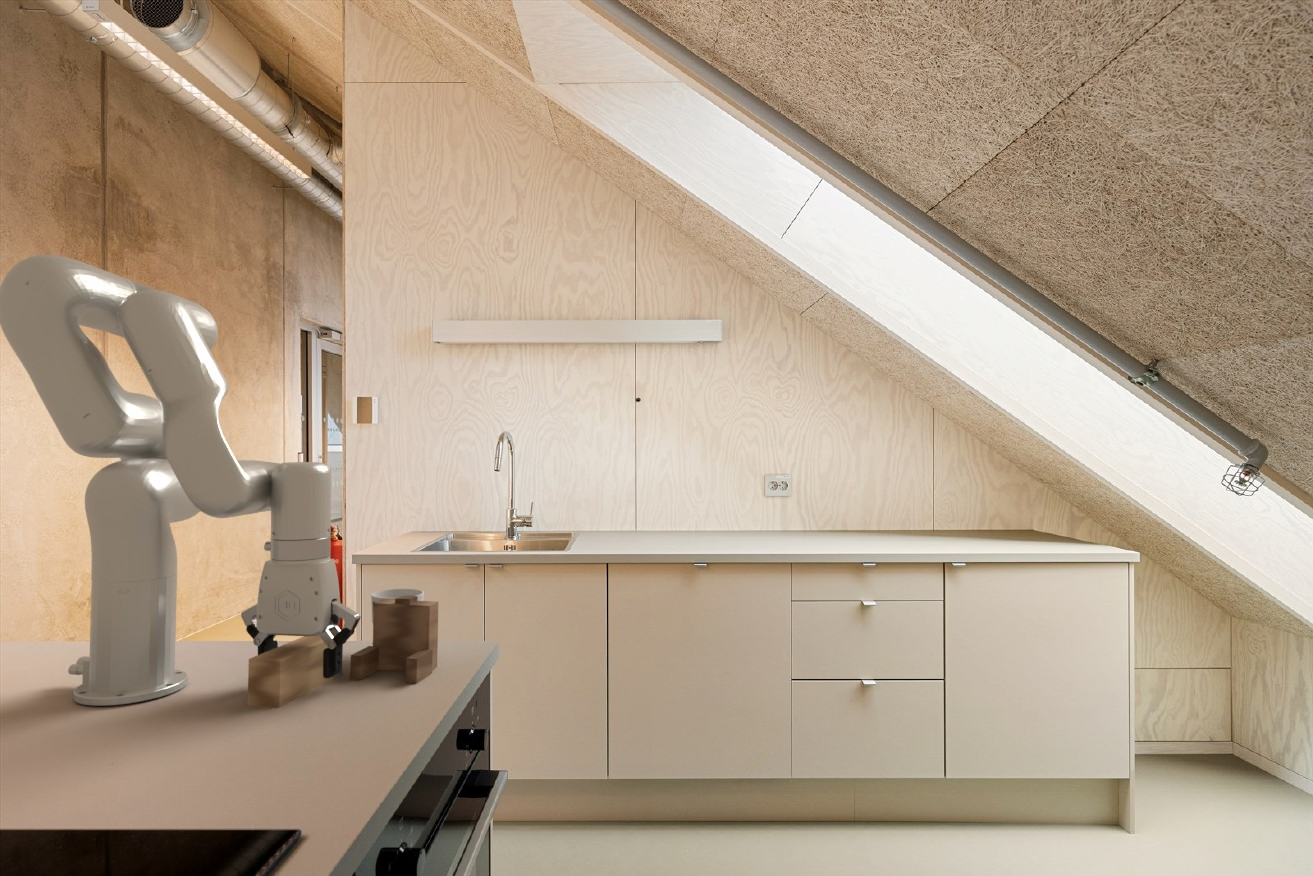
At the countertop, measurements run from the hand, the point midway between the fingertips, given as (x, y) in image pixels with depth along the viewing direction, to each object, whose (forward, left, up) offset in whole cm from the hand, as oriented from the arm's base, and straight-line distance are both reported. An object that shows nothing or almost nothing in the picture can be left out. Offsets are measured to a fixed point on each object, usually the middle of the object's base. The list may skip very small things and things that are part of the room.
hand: (299, 673), depth 101 cm
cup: (+5, +18, -2) cm, 19 cm away
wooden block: (0, 0, -2) cm, 2 cm away
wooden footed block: (+10, +9, -2) cm, 13 cm away
